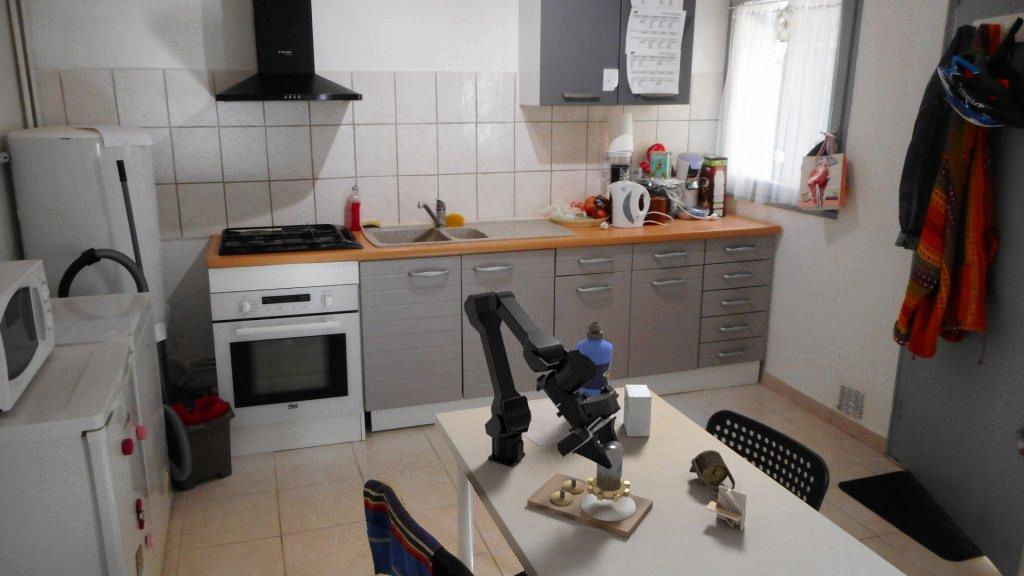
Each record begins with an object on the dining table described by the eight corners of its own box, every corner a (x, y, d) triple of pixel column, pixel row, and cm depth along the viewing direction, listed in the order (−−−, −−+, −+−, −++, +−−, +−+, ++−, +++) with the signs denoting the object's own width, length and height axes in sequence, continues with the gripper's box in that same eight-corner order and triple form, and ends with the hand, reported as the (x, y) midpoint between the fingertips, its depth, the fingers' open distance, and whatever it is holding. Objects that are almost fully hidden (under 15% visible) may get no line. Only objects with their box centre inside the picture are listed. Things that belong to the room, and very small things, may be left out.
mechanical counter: (740, 453, 164) (695, 440, 166) (747, 478, 152) (698, 463, 153) (730, 483, 166) (685, 469, 167) (736, 509, 154) (688, 494, 155)
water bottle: (572, 421, 192) (575, 328, 185) (575, 406, 201) (578, 316, 194) (609, 424, 190) (613, 330, 184) (610, 408, 199) (614, 318, 192)
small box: (650, 437, 183) (652, 397, 181) (626, 437, 184) (628, 397, 181) (645, 422, 191) (647, 384, 188) (622, 422, 191) (624, 383, 188)
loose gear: (579, 493, 149) (581, 449, 147) (597, 475, 156) (599, 432, 154) (619, 506, 145) (622, 461, 142) (636, 486, 152) (639, 442, 150)
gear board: (527, 505, 154) (527, 491, 153) (556, 477, 165) (557, 464, 164) (627, 537, 143) (628, 523, 142) (652, 505, 154) (653, 491, 153)
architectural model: (737, 536, 144) (741, 502, 142) (703, 524, 148) (706, 490, 146) (744, 528, 147) (747, 494, 145) (710, 516, 151) (713, 483, 149)
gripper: (573, 394, 139) (626, 463, 136) (613, 362, 154) (662, 424, 152) (535, 423, 145) (585, 490, 142) (578, 390, 160) (623, 450, 158)
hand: (616, 462), depth 148 cm, fingers closed on loose gear, 5 cm apart
